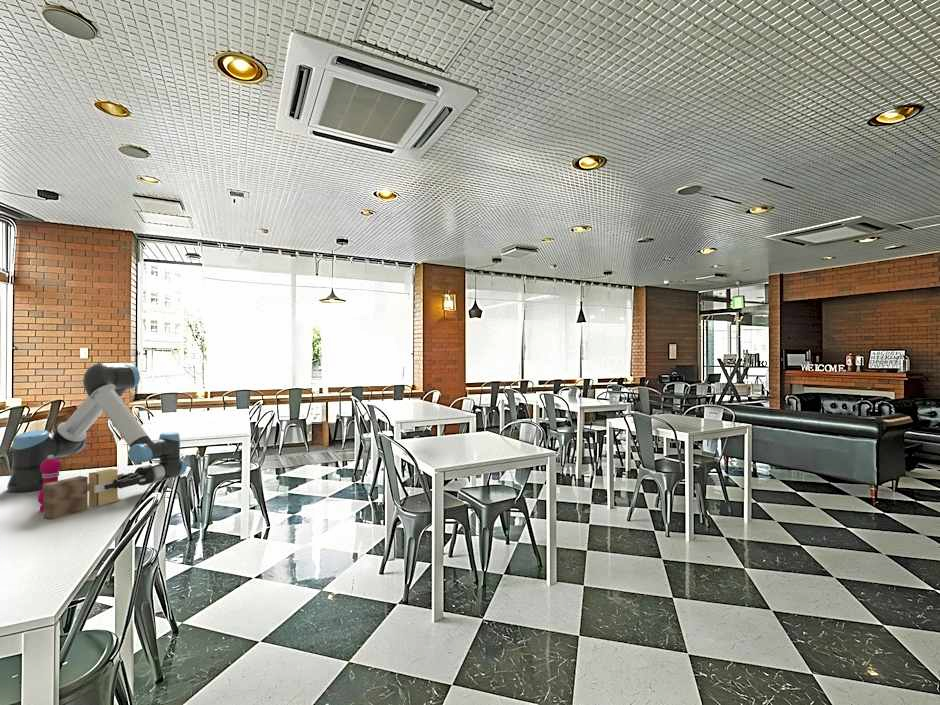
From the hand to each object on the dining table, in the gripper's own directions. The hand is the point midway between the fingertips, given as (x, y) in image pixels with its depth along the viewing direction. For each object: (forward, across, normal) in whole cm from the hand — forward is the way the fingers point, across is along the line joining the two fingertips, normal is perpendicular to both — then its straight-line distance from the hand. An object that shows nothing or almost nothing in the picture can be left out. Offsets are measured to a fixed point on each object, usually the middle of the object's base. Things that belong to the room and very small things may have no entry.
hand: (90, 488), depth 191 cm
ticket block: (+8, 0, -7) cm, 11 cm away
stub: (-5, 0, -7) cm, 9 cm away
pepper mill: (+7, +11, -7) cm, 15 cm away
